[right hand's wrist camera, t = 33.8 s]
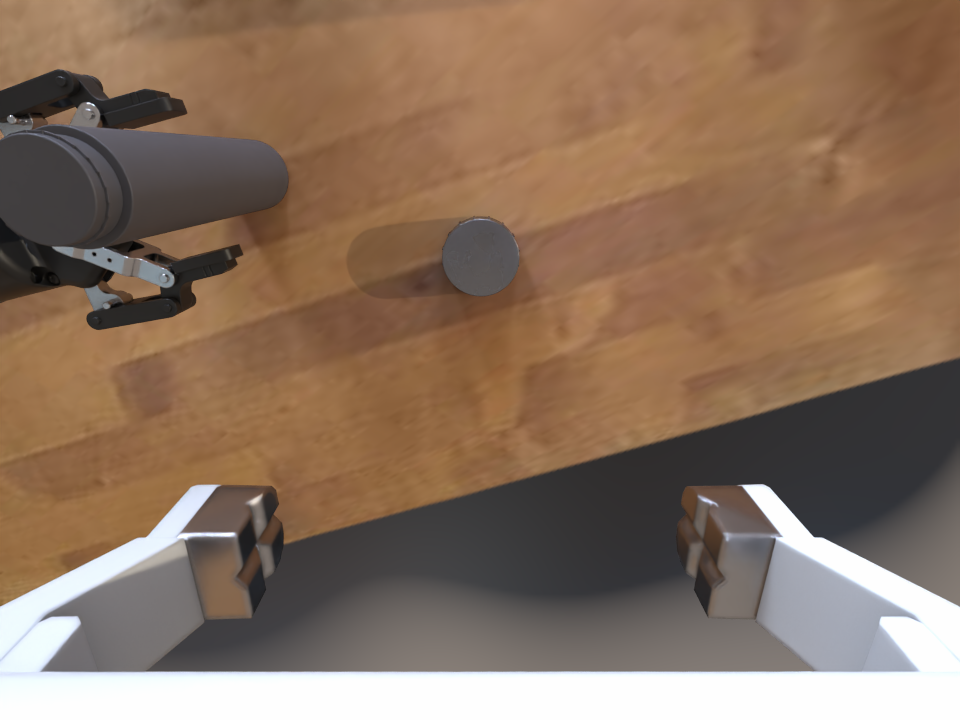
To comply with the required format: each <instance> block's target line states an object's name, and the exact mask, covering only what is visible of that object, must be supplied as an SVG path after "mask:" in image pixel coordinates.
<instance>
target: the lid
mask: <svg viewBox="0 0 960 720" xmlns="http://www.w3.org/2000/svg"><path fill="white" fill-rule="evenodd" d="M514 237H515V236H514V234H513V233H511V232H510V230H509V229H508V228H507V227H506V226H505V225H504V223H503V222H502V223H501V222H499V221H497V220H495V219H493V218H490V216H488V217H475V216H473V217H472V218H469V219H466V220H464V221H462V222H461V221H460V222H459V224H458V225H457V226H456V227H455V228H454V229H453V230H452V231H451V233H450V232H449V234H448V238H447V240H446V242H445V245H444V246H443V248H442V250H443V255H442V260H443V263H442V265H443V267H444V270H445V273H446V275H447V277H448V279H449V280H450V281H451V283H452V284H453V285H454V286H455V287H456V288H458V289H459V290H461V291H462V292H464V293H467V294H470V295H474V296H488V295H492V294H495V293H497V292H499V291H501V290H502V289H504V288H505V287H506V286H507V285H508V284H509V283H510V282H511V281H512V280H513V278H514V276H515V274H516V272H517V269H518V267H519V251H520V250H519V248H518V246H517V243H516V241H515V239H514Z"/></svg>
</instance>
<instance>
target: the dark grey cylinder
mask: <svg viewBox="0 0 960 720" xmlns="http://www.w3.org/2000/svg"><path fill="white" fill-rule="evenodd" d="M287 188H288V172H287V168H286V166H285V163H284V161H283V159H282V158H281V156H280V155H279V154H278V153H277V152H276V151H275V150H274V149H273V148H272V147H270V146H269V145H267V144H265V143H263V142H260V141H257V140H247V139H235V138H222V137H210V136H197V135H185V134H172V133H160V132H147V131H135V130H122V129H110V128H97V127H85V126H72V125H60V124H58V125H45V126H41V127H38V128H36V129H34V130H22V131H18V132H14V133H10V134H8V135H7V136H5V137H4V138H3V139H1V140H0V218H1V219H2V220H3V221H4V222H5V223H6V224H5V225H6V226H7V227H9V228H10V229H11V230H12V231H14V232H15V233H16V234H17V235H19V236H23V237H25V238H26V239H29V240H31V241H33V242H36V243H38V244H42V245H46V246H52V247H74V248H78V249H99V248H104V247H108V246H112V245H116V244H120V243H125V242H129V241H133V240H137V239H141V238H146V237H150V236H154V235H158V234H163V233H167V232H171V231H175V230H179V229H184V228H188V227H192V226H196V225H200V224H205V223H209V222H213V221H217V220H222V219H226V218H230V217H234V216H238V215H243V214H247V213H251V212H255V211H259V210H264V209H268V208H271V207H273V206H275V205H276V204H278V203H279V202H280V201H281V200H282V199H283V197H284V195H285V193H286V191H287Z"/></svg>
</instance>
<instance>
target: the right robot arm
mask: <svg viewBox="0 0 960 720" xmlns="http://www.w3.org/2000/svg"><path fill="white" fill-rule="evenodd" d="M278 505H279V502H278V497H277V493H276V490H275V489H274V488H273V487H272V486H254V485H196V486H193V487H191V488H190V489H189V490H188V491H187V492H186V493H185V494H184V496H183V497H182V498H181V499H180V500H179V501H178V502H177V503H176V505H175V506H174V507H173V508H172V509H171V510H170V511H169V512H168V514H167V515H166V516H165V517H164V518H163V519H162V520H161V521H160V523H159V524H158V525H157V526H156V527H155V528H154V529H153V530H152V532H151V533H150V534H149V535H148V536H147V537H146V538H136V539H134V540H132V541H130V542H128V543H126V544H124V545H122V546H120V547H118V548H116V549H114V550H112V551H110V552H108V553H106V554H104V555H102V556H100V557H98V558H96V559H94V560H92V561H90V562H88V563H86V564H84V565H82V566H80V567H78V568H76V569H74V570H72V571H70V572H68V573H66V574H64V575H62V576H60V577H58V578H56V579H54V580H52V581H50V582H48V583H47V584H45V585H43V586H41V587H39V588H37V589H35V590H33V591H31V592H29V593H27V594H25V595H23V596H21V597H19V598H17V599H15V600H13V601H11V602H9V603H7V604H5V605H3V606H1V607H0V720H960V607H959V606H957V605H955V604H953V603H951V602H949V601H947V600H945V599H943V598H941V597H939V596H937V595H935V594H933V593H931V592H929V591H927V590H925V589H923V588H921V587H919V586H917V585H915V584H913V583H911V582H909V581H907V580H905V579H903V578H901V577H899V576H897V575H895V574H893V573H891V572H889V571H887V570H885V569H883V568H881V567H879V566H877V565H875V564H873V563H871V562H869V561H867V560H866V559H863V558H862V557H859V556H858V555H856V554H854V553H852V552H850V551H847V550H846V549H844V548H842V547H840V546H838V545H836V544H834V543H832V542H830V541H828V540H826V539H824V538H814V537H813V536H812V535H811V534H810V533H809V532H808V530H807V529H806V528H805V527H804V526H803V525H802V524H801V523H800V521H799V520H798V519H797V518H796V517H795V516H794V515H793V514H792V512H791V511H790V510H789V509H788V508H787V507H786V506H785V505H784V503H783V502H782V501H781V500H780V499H779V498H778V497H777V496H776V494H775V493H774V492H773V491H772V490H771V489H770V488H769V487H767V486H765V485H763V484H760V485H737V486H691V487H686V488H685V491H684V492H683V497H682V502H681V505H682V507H683V508H684V510H685V512H686V515H685V516H684V517H683V518H682V519H681V520H680V521H679V522H678V527H677V535H676V540H677V551H678V555H679V558H680V562H681V564H682V566H683V568H684V570H685V572H686V573H688V574H689V575H690V576H692V577H693V578H695V579H696V582H695V588H694V591H695V593H696V594H697V597H698V598H699V601H700V603H701V604H702V606H703V608H704V610H705V612H706V614H707V616H708V618H722V619H756V623H758V624H759V625H760V626H761V627H762V628H763V629H765V630H766V631H767V632H768V633H770V634H771V635H772V636H773V637H774V638H775V639H777V640H778V641H779V642H780V643H781V644H782V645H784V646H785V647H786V648H787V649H788V650H790V651H791V652H792V653H793V654H794V655H796V656H797V657H798V658H799V659H800V660H801V661H803V662H804V663H805V664H806V665H807V666H809V667H810V668H811V669H812V670H813V671H815V672H146V671H147V670H148V669H149V668H150V667H152V666H153V665H154V664H155V663H156V662H157V661H159V660H160V659H161V658H162V657H163V656H165V655H166V654H167V653H168V652H169V651H171V650H172V649H173V648H174V647H175V646H176V645H178V644H179V643H180V642H181V641H182V640H184V639H185V638H186V637H187V636H188V635H190V634H191V633H192V632H193V631H194V630H196V629H197V628H198V627H199V626H200V625H202V624H203V623H204V619H237V618H252V616H253V614H254V613H255V611H256V608H257V607H258V604H259V602H260V600H261V598H262V597H263V595H264V593H265V590H266V587H265V582H264V579H265V578H267V577H268V576H270V575H271V574H272V573H274V572H275V570H276V568H277V566H278V564H279V562H280V559H281V554H282V550H283V539H284V533H283V526H282V522H281V521H280V520H279V519H278V518H277V517H276V516H275V515H274V512H275V510H276V508H277V507H278Z"/></svg>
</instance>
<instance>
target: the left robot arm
mask: <svg viewBox="0 0 960 720" xmlns="http://www.w3.org/2000/svg"><path fill="white" fill-rule="evenodd" d="M73 107H76V108H77V111H76V113H75V115H74V117H73V119H72V121H71V123H70V125H72V126H85V127H97V128H110V129H122V130H123V129H124V128H128V129H135V128H139V127H142V126H146V125H149V124H153V123H157V122H160V121H164V120H167V119H171V118H175V117H178V116H182V115H185V114H187V111H186V108H185V106H184V103H183V101H182V100H180V99H175V98H171V97H170V95H169V93H165V92H160V91H155V90H149V89H143V90H139V91H136V92H132V93H129V94H125V95H122V96H118V97H115V98H111V99H109V98H108V97H107V96H106V95H105V93H104V92H103V87H102V84H101V82H100V81H99V80H98V79H97V78H95V77H93V76H89V75H80V74H75V73H71V72H69V71H65V70H60V69H58V70H54V71H52V72H49V73H46V74H44V75H41V76H39V77H36V78H33V79H31V80H28V81H25V82H23V83H20V84H17V85H15V86H12V87H9V88H7V89H4V90H2V91H0V130H1V132H2V133H3V135H4V137H5V136H7V135H8V134H10V133H14V132H18V131H22V130H34V129H36V128H38V127H41V126H45V125H48V122H47V120H46V119H45V118H46V117H49V116H52V115H54V114H57V113H60V112H62V111H65V110H68V109H71V108H73ZM5 224H6V223H5V222H4V221H3V220H2V219H1V218H0V303H2V302H4V301H7V300H10V299H14V298H18V297H22V296H26V295H30V294H34V293H38V292H42V291H46V290H50V289H54V288H58V287H62V286H66V285H71V286H76V287H80V288H84V290H85V292H86V294H87V296H88V298H89V301H90V303H91V305H92V307H93V309H94V311H93V312H90V313H89V314H88V315H87V322H88V324H89V325H90V326H91V327H92V328H94V329H96V330H102V329H107V328H113V327H119V326H124V325H130V324H136V323H141V322H147V321H152V320H158V319H164V318H169V317H173V316H175V315H177V314H179V313H181V312H183V311H185V310H187V309H189V308H191V307H193V306H194V305H195V304H196V297H195V295H194V294H193V293H192V290H191V285H192V282H193V281H195V280H199V279H203V278H207V277H211V276H215V275H219V274H222V273H225V272H227V271H229V270H231V269H233V268H234V267H235V266H237V265H238V264H237V262H236V259H235V258H237V257H239V256H242V255H243V253H242V250H241V248H240V245H239V244H238V245H234V246H230V247H226V248H222V249H218V250H214V251H210V252H206V253H202V254H198V255H194V256H190V257H187V258H184V259H181V260H180V259H177V258H175V257H172V256H170V255H167V254H165V253H163V252H161V249H159V248H157V247H155V246H152V245H150V244H147V243H145V242H142V241H140V240H138V239H137V240H133V241H129V242H125V243H120V244H116V245H112V246H108V247H104V248H99V249H78V248H74V247H52V246H46V245H42V244H38V243H36V242H33V241H31V240H29V239H26V238H25V237H23V236H19V235H17V234H16V233H15V232H14V231H12V230H11V229H10V228H9V227H7V226H6V225H5ZM115 272H116V273H118V274H121V275H124V276H133V277H138V278H140V279H143V280H145V281H148V282H150V283H153V284H155V285H158V286H160V290H161V294H159V295H154V296H148V297H143V298H137V299H133V296H132V295H131V294H129V293H126V292H124V291H116V290H113V289H112V288H110V287H109V286H108V284H107V282H108V281H109V280H110V279H111V278H112V276H113V275H114V273H115Z"/></svg>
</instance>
